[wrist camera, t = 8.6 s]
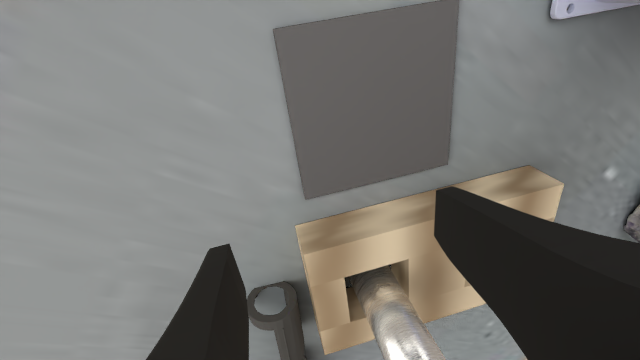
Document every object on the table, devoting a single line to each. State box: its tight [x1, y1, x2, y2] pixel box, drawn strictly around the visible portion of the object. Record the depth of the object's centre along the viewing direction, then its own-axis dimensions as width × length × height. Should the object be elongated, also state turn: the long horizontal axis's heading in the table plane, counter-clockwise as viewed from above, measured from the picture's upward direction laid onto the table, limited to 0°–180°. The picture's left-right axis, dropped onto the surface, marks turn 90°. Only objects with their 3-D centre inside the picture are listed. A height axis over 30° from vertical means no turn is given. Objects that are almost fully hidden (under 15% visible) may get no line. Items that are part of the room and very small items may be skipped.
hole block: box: [295, 165, 564, 355], centre depth 25 cm, size 18×10×3 cm, turn 98°
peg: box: [348, 265, 446, 360], centre depth 21 cm, size 3×3×10 cm
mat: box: [273, 0, 459, 200], centre depth 19 cm, size 10×10×1 cm
